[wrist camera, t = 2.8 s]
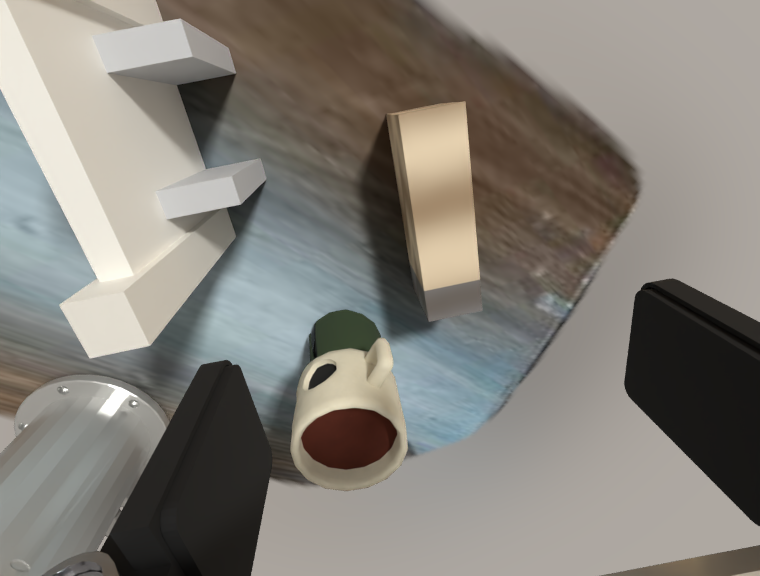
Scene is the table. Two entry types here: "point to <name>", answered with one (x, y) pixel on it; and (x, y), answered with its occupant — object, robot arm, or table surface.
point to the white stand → (122, 154)
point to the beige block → (437, 207)
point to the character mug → (348, 407)
